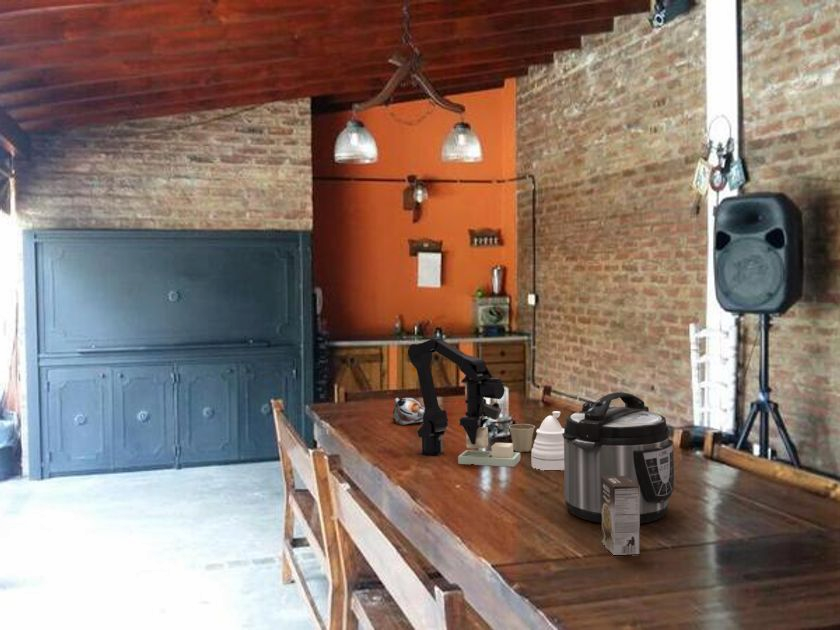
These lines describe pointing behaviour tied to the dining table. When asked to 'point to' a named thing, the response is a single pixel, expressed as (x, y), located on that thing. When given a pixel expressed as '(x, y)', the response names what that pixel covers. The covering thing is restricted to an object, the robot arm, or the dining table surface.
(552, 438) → the honey pot
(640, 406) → the pressure cooker
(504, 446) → the tray
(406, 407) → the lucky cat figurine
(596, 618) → the dining table surface
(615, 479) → the coffee box
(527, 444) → the flower pot
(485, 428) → the maple cube
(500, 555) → the dining table surface
